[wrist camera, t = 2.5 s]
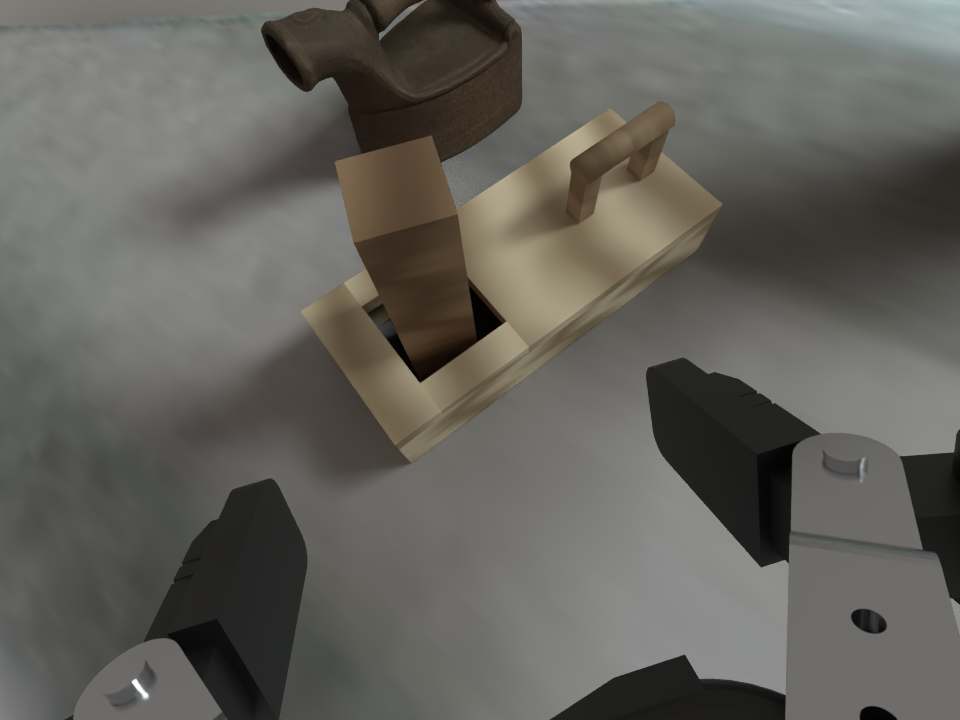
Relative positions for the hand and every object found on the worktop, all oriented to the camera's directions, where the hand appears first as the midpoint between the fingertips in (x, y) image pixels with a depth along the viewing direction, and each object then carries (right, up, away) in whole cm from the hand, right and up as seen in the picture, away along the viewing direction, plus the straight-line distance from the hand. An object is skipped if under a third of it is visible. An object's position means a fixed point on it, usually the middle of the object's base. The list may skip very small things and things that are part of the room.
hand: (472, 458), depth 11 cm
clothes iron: (-4, +20, +32) cm, 38 cm away
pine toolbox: (+3, +6, +25) cm, 26 cm away
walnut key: (-2, +3, +24) cm, 25 cm away
